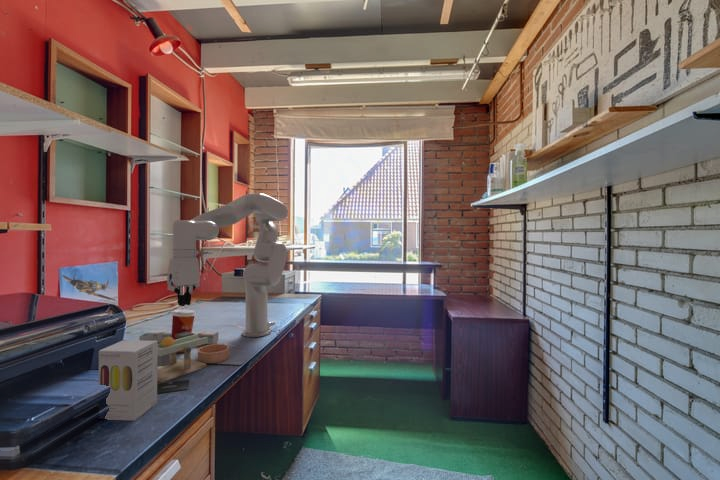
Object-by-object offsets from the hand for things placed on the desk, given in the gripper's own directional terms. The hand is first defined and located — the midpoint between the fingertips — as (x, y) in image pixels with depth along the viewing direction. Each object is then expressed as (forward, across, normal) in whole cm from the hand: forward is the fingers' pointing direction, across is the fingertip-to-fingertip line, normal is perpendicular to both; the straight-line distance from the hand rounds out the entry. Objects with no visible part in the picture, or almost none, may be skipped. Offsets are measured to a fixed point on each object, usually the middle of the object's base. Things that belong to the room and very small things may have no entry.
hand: (184, 304), depth 126 cm
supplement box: (+19, +30, +25) cm, 43 cm away
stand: (+19, +8, +9) cm, 23 cm away
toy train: (+20, -8, -18) cm, 28 cm away
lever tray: (+16, +6, +5) cm, 18 cm away
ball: (+9, +11, +9) cm, 17 cm away
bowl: (+19, -6, +9) cm, 22 cm away
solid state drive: (+20, +16, +20) cm, 33 cm away
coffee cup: (+19, -3, -8) cm, 21 cm away
